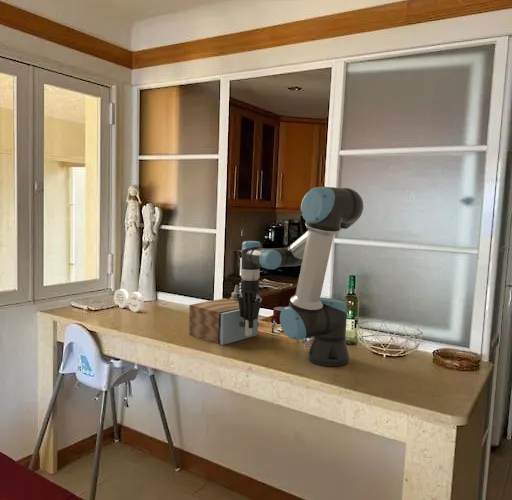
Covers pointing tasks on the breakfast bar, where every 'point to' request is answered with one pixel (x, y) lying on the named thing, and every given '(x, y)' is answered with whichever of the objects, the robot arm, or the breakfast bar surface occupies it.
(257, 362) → the breakfast bar surface
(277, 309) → the mug
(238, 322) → the grey drawer
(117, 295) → the contact lens case
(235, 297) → the squeeze bottle
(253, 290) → the robot arm
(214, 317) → the wooden drawer cabinet
